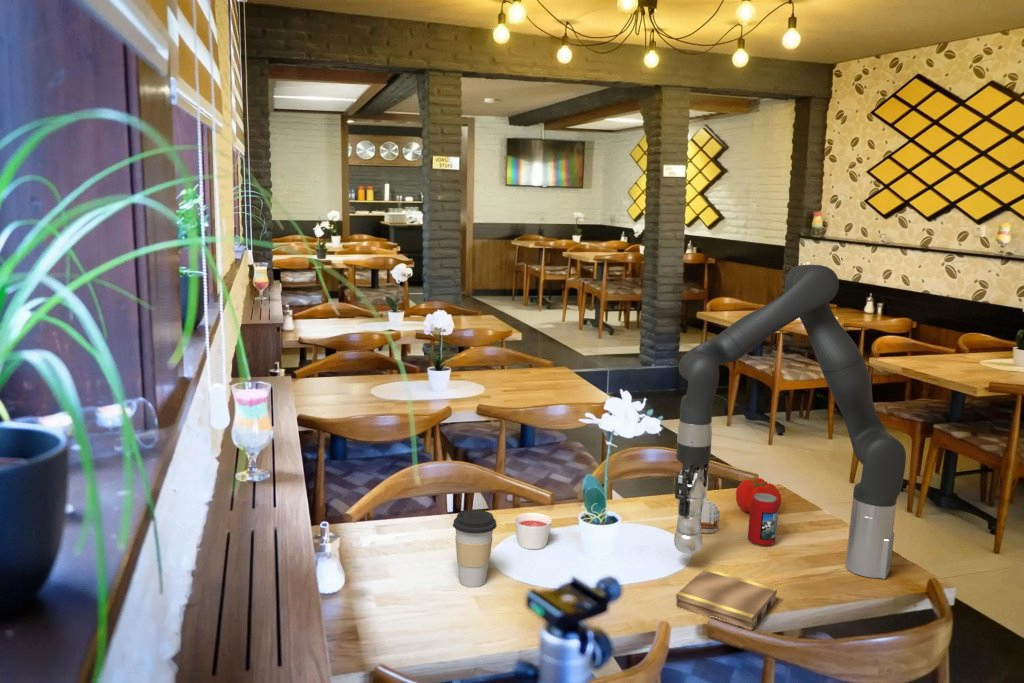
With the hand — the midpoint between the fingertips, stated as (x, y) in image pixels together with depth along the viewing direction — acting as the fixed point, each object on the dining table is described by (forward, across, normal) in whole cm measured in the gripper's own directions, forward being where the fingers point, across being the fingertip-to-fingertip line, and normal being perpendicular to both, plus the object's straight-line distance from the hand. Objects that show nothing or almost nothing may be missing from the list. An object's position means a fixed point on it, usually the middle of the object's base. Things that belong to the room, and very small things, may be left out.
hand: (689, 511), depth 188 cm
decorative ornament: (+14, +26, +6) cm, 30 cm away
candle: (+14, -11, +35) cm, 40 cm away
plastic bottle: (+10, 0, 0) cm, 10 cm away
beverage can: (+15, +27, -9) cm, 32 cm away
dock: (+14, -11, -14) cm, 23 cm away
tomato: (+15, +48, -1) cm, 50 cm away
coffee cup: (+14, -36, +34) cm, 52 cm away
